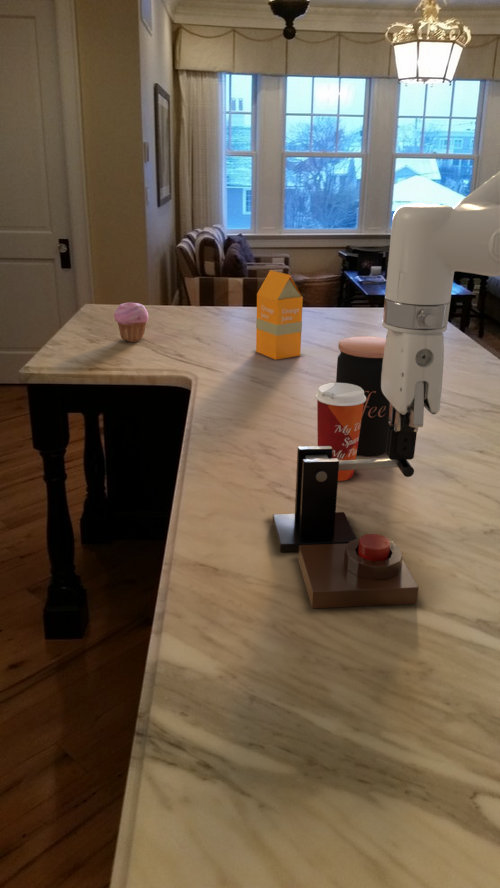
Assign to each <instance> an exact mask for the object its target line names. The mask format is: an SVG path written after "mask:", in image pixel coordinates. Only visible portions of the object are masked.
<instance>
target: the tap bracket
mask: <svg viewBox="0 0 500 888" xmlns="http://www.w3.org/2000/svg"><path fill="white" fill-rule="evenodd" d="M332 450H333V449H332V447H331V446H318V445H315V446H314V445H310V446H308V445H307V446H297V454H296V455H297V458H296V475H295V477H296V479H295V500H294V501H295V502H294V513H275V514H272V525H273V529H274V533H275V536H276V537H275V538H276V541H277V546H278V549H279V552H280V553H291V552H292V553H294V552H296V553H297V552H298V553H299V545H320V544H348V543H349V542H350V541H353V540H355V539H357V537H356V534H355V532H354V530H353V528H352V526H351V523H350V521H349V519H348V517H347V515H346V512H345V511H338V512H337V498H338V497H337V496H338V482H339V481H338V471H339V460H338V458H332ZM323 454H327V456H328V458H329V459H305V455H323Z"/></svg>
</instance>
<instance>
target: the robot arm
mask: <svg viewBox="0 0 500 888" xmlns="http://www.w3.org/2000/svg"><path fill="white" fill-rule="evenodd" d="M455 272H461V273H467V274H475V275H480V276H487V277H500V171H498V172H497V173H495V174H494V175H493V176H491V177H490V178H489V179H487V180H486V181H485V182H483V183H482V184H481V185H480V186H478V187H477V188H475V189H474V190H473V191H472V192H470V193H469V194H468V195H466V196H465V197H464V198H463V199H461V200H460V201H459V202H457V203H456V205H455V206H453V207H452V206H448V205H444V204H429V203H428V204H425V203H413V204H411V203H410V204H404V205H401V206H399V207H397V208H396V210H395V212H394V213H393V216H392V221H391V228H390V240H389V251H388V261H387V272H386V282H385V291H384V303H383V312H382V314H383V315H382V323H381V325H382V327H383V328H384V329H386V330H387V331H386V335H385V338H386V342H385V349H384V356H383V364H382V374H381V389H382V392H383V394H384V396H385V397H386V398H387V399H388V401H389V402H390V408H389V425H393V426H389V428H388V437H387V447H386V452H385V454H386V456H387V458H390V459H391V460H407V461H409V460H410V461H411V460H413V459H414V458H415V450H416V443H417V442H416V441H417V435H418V431H419V428H423V427H424V416H425V414H424V411H425V409H426V410H427V411H428V412H429V413H430V414H431V415H437V414H438V413H439V412H440V409H441V402H442V401H441V400H442V391H443V380H444V379H443V377H444V365H445V364H444V361H445V338H444V337H445V336H444V333H445V332H446V331H447V329H448V323H449V314H450V307H451V299H452V292H453V283H454V276H455Z"/></svg>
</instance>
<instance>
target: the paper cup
mask: <svg viewBox="0 0 500 888" xmlns="http://www.w3.org/2000/svg"><path fill="white" fill-rule="evenodd" d="M317 389H318V390H317V393H316V394H315V395H314V398H315V399H316V404H317V405H316V406H317V407H316V410H317V411H316V412H317V416H316V417H317V421H316V422H317V426H316V427H317V429H316V430H317V446H331V447H332V449H333V450H332V458H338V460H339V461H340V460H357V455H356V454H357V448H358V441H359V433H360V426H361V419H362V412H363V405H364V402H365V401H366V396H365V395H364V390H363V389H362V388H361V387H359V386H357V385H353V384H348V383H336V382H328V383H324V384H322V385H320V386H319V387H318V388H317ZM354 472H355V470H343V471H338V482H341V481H342V482H343V481H347V480H349V479H352V478H353V476H354V474H355V473H354Z"/></svg>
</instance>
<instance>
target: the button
mask: <svg viewBox="0 0 500 888" xmlns="http://www.w3.org/2000/svg"><path fill="white" fill-rule="evenodd" d="M359 538H360V539H359V547H358V554H359V556H360V557H362V558H364V559H367V560H371V561H384V560H387V559H388V557H389V552H390V542H391V541H390V540H389V538H388V537H386V536H384V535H381V534H377V533H366V534H364V535H361V536H360V537H359Z"/></svg>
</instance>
